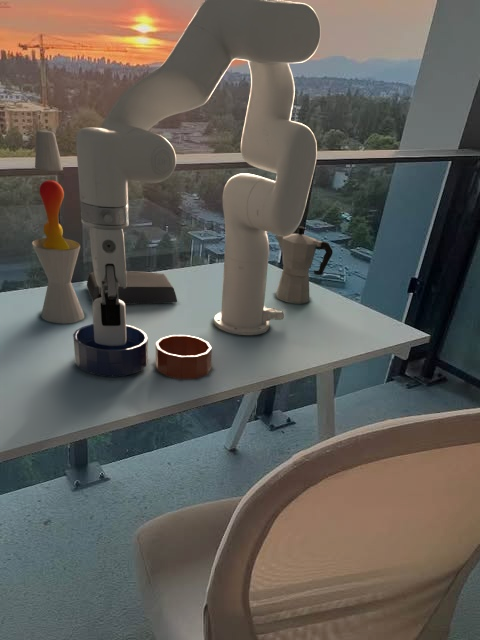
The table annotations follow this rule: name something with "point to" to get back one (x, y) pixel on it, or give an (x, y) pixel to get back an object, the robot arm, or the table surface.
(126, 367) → the bowl
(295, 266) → the coffeepot
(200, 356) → the brown round container
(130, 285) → the hard drive
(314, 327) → the table surface
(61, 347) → the table surface
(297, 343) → the table surface
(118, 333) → the eye dropper bottle
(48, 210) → the lava lamp
